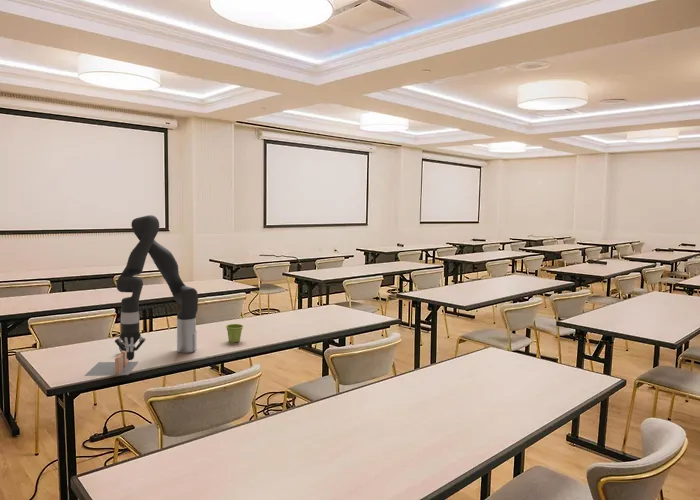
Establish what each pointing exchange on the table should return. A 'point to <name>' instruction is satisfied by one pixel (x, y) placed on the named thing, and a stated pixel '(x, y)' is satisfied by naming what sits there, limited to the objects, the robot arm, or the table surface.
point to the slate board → (110, 369)
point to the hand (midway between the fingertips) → (130, 359)
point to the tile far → (125, 358)
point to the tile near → (118, 363)
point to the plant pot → (234, 332)
